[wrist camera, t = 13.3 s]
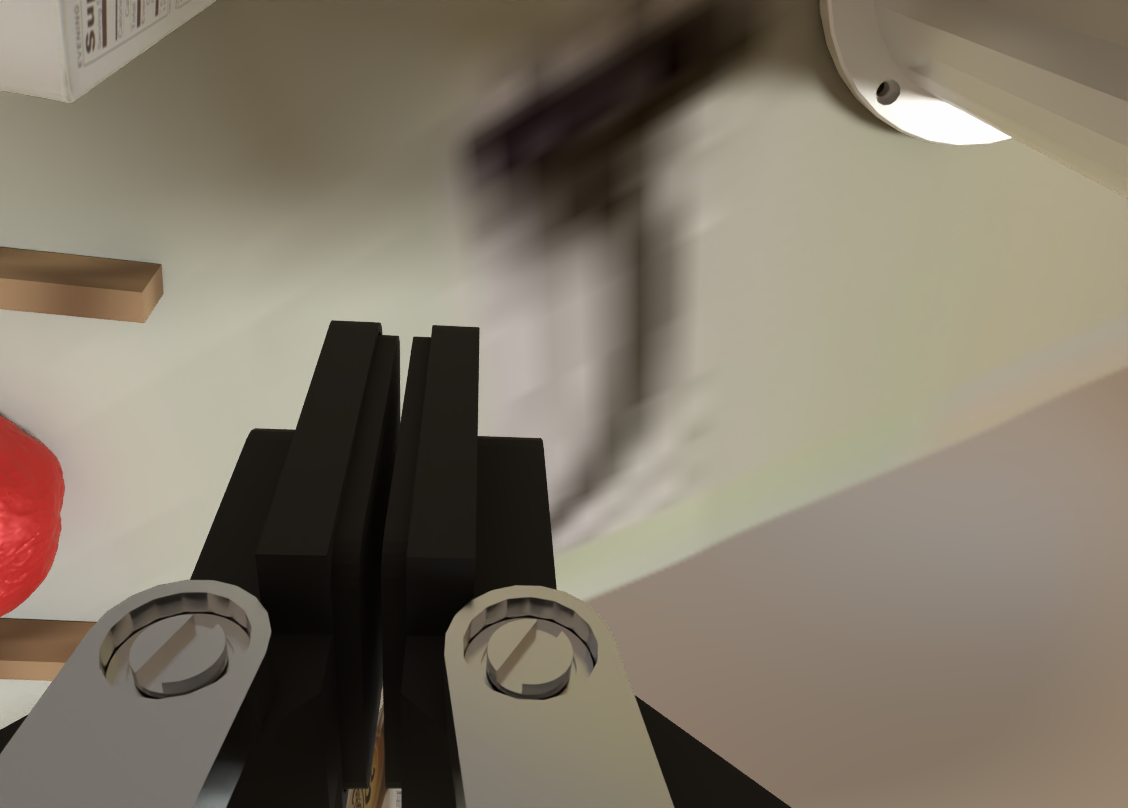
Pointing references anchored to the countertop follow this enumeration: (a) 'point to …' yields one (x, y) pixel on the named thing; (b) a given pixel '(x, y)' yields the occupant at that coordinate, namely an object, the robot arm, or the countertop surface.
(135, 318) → the display stand
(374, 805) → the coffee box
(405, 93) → the countertop surface
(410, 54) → the countertop surface
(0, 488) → the red tomato
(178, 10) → the supplement box
